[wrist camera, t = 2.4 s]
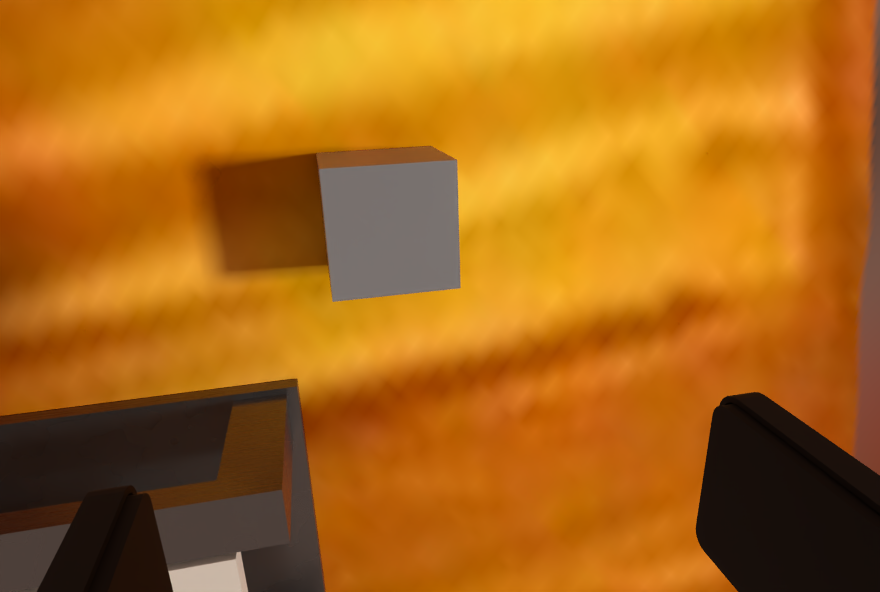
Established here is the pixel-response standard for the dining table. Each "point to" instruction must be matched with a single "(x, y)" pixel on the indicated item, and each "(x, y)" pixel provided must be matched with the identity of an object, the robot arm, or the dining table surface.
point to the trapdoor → (205, 575)
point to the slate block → (390, 221)
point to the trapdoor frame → (169, 480)
